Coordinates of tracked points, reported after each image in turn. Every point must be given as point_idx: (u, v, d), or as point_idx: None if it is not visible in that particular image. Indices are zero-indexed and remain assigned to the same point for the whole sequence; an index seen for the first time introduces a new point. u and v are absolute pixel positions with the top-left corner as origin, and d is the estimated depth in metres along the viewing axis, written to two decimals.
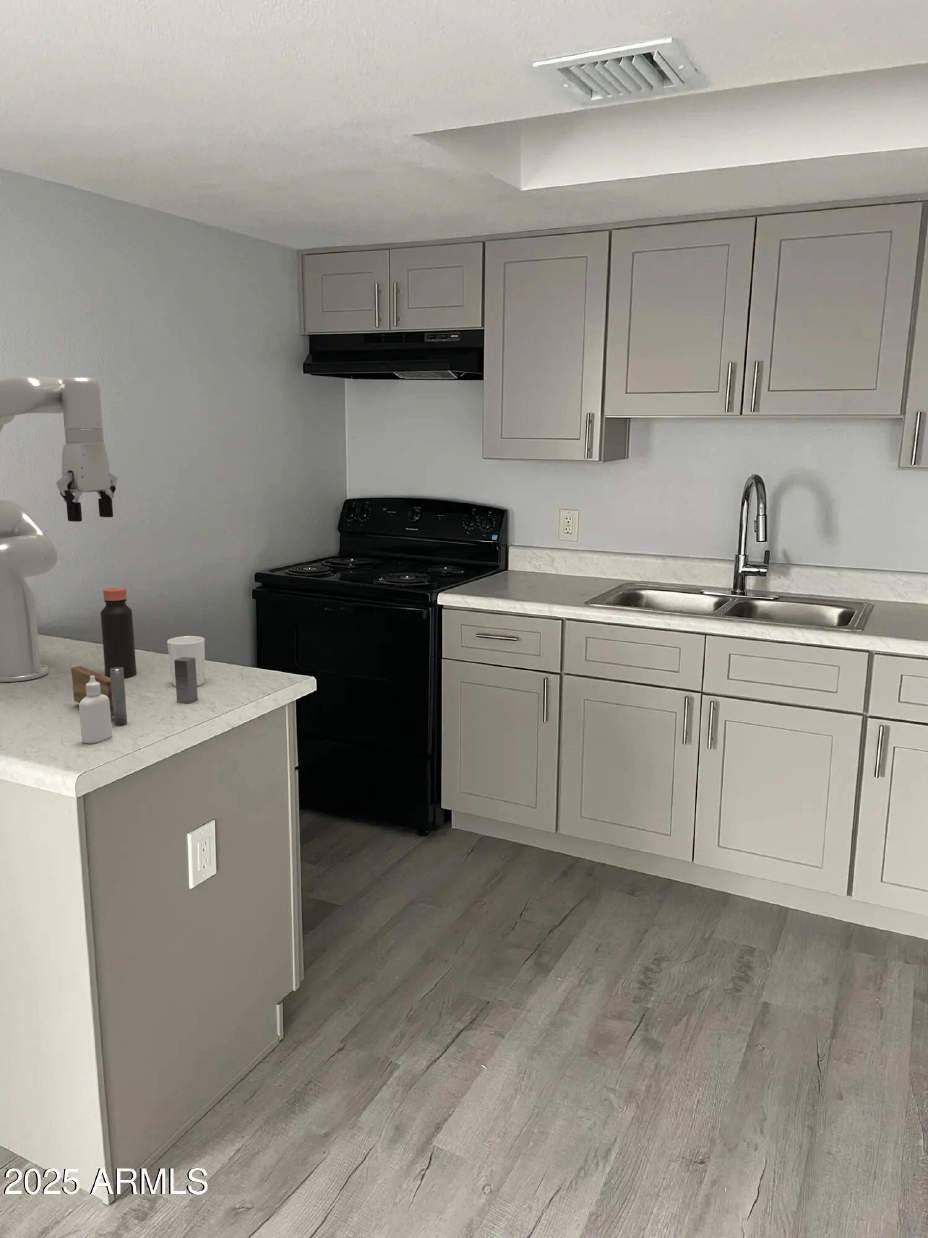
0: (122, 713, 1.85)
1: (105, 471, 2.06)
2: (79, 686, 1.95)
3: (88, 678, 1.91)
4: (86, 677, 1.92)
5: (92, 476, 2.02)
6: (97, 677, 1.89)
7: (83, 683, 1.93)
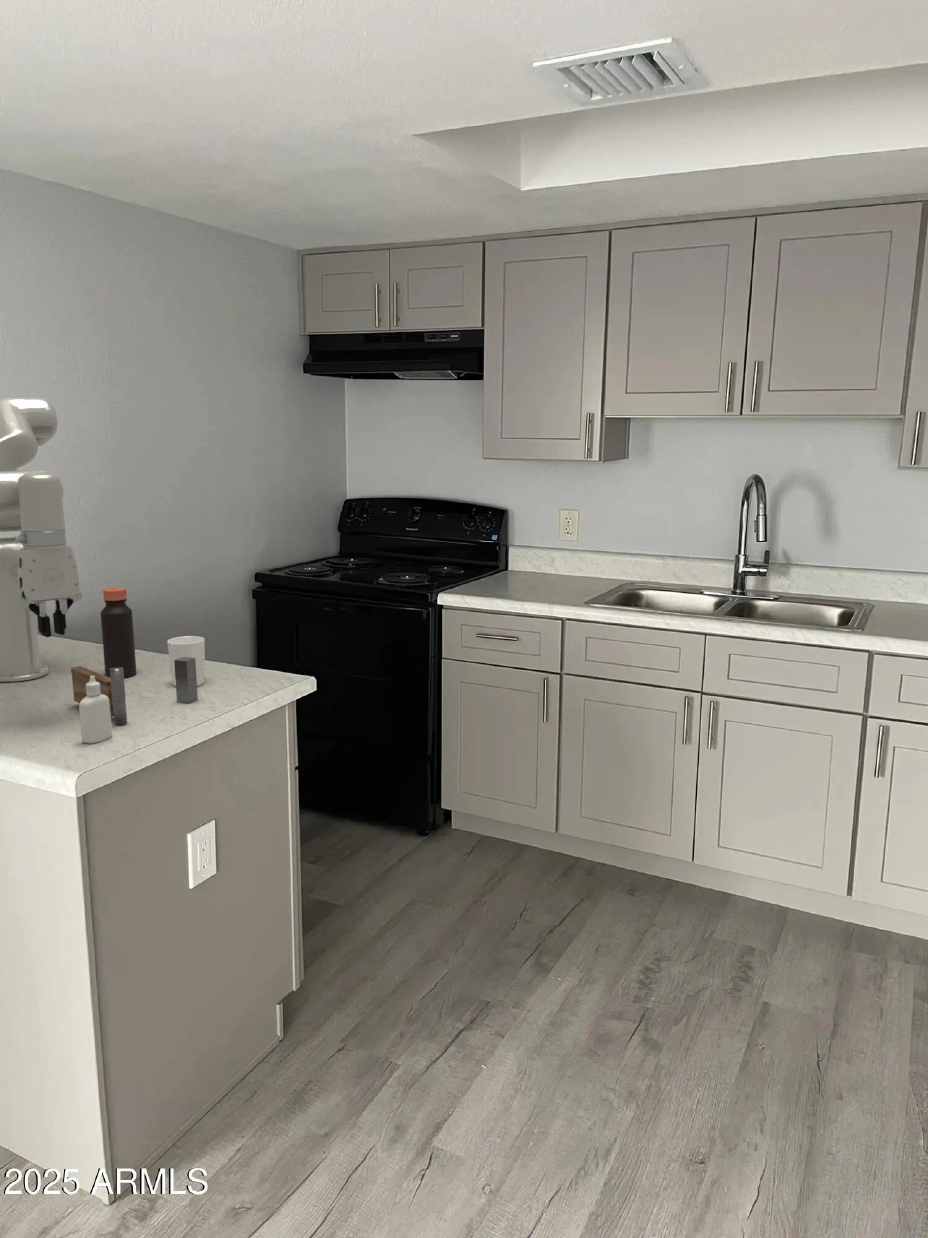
0: (122, 713, 1.85)
1: None
2: (79, 686, 1.95)
3: (88, 678, 1.91)
4: (86, 677, 1.92)
5: None
6: (97, 677, 1.89)
7: (83, 683, 1.93)
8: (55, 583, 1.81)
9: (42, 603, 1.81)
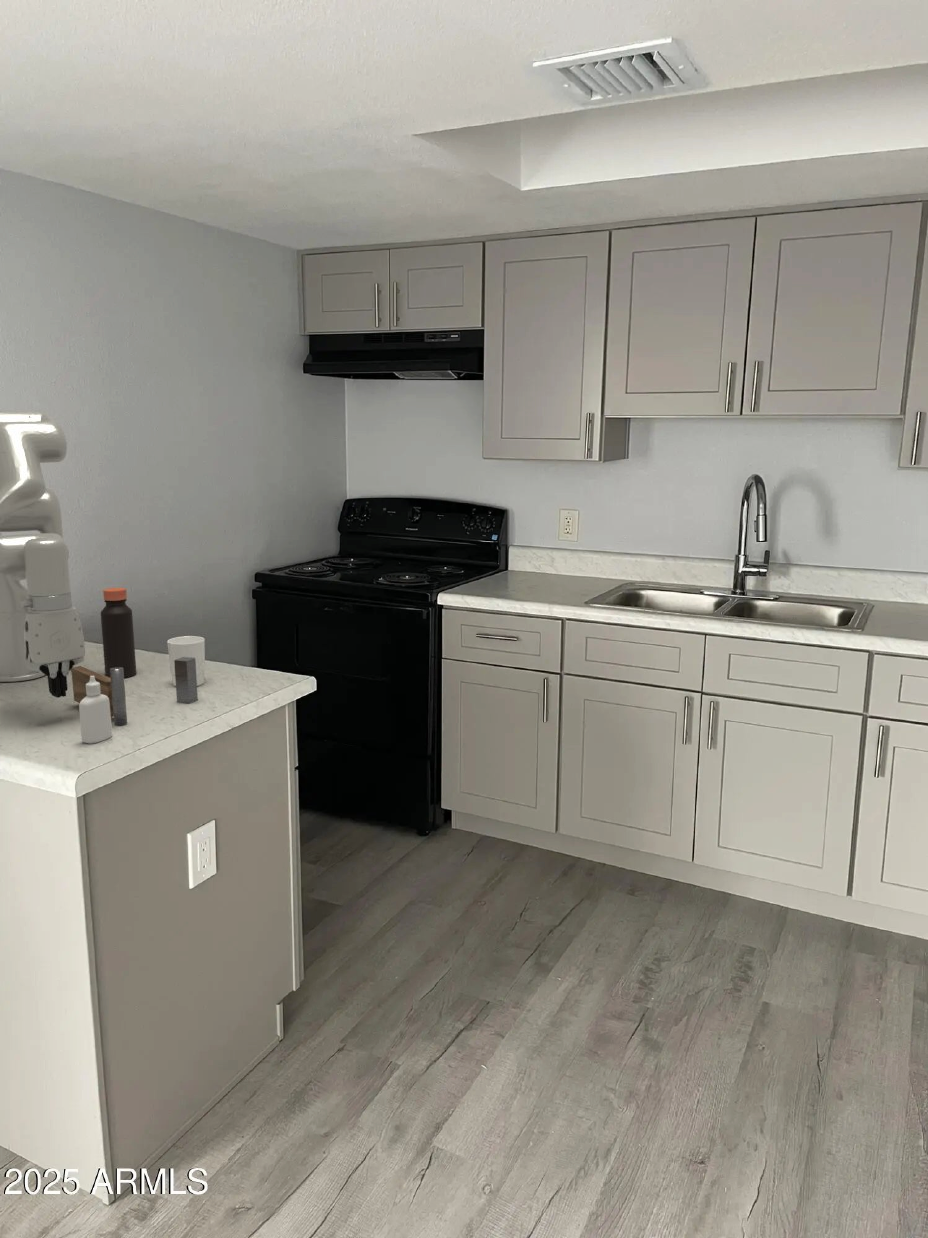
0: (122, 713, 1.85)
1: None
2: (79, 686, 1.95)
3: (88, 678, 1.91)
4: (86, 677, 1.92)
5: None
6: (97, 677, 1.89)
7: (83, 683, 1.93)
8: (61, 646, 1.83)
9: (50, 665, 1.84)
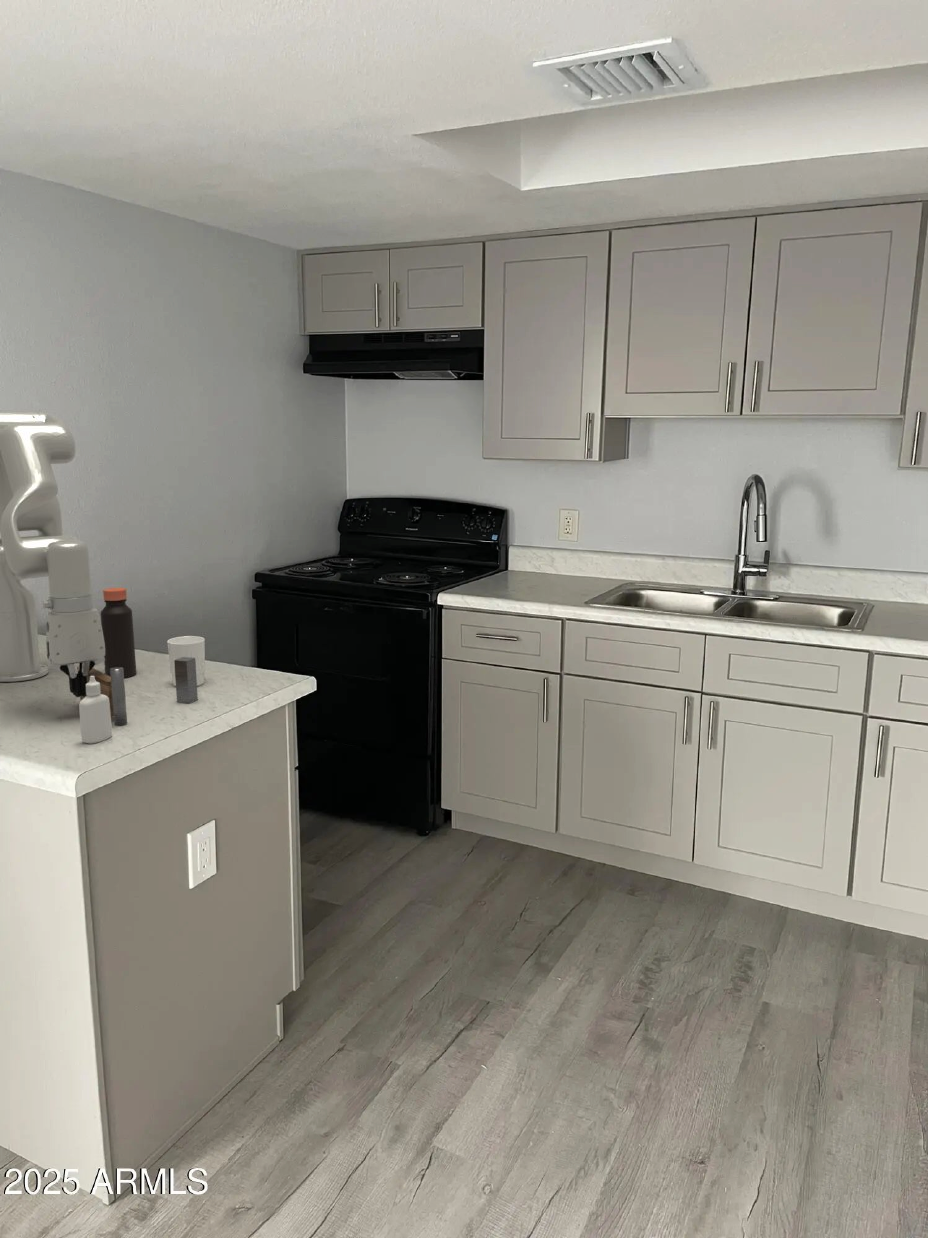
0: (122, 713, 1.85)
1: None
2: None
3: None
4: None
5: None
6: (99, 676, 1.89)
7: None
8: (80, 647, 1.87)
9: (70, 665, 1.88)
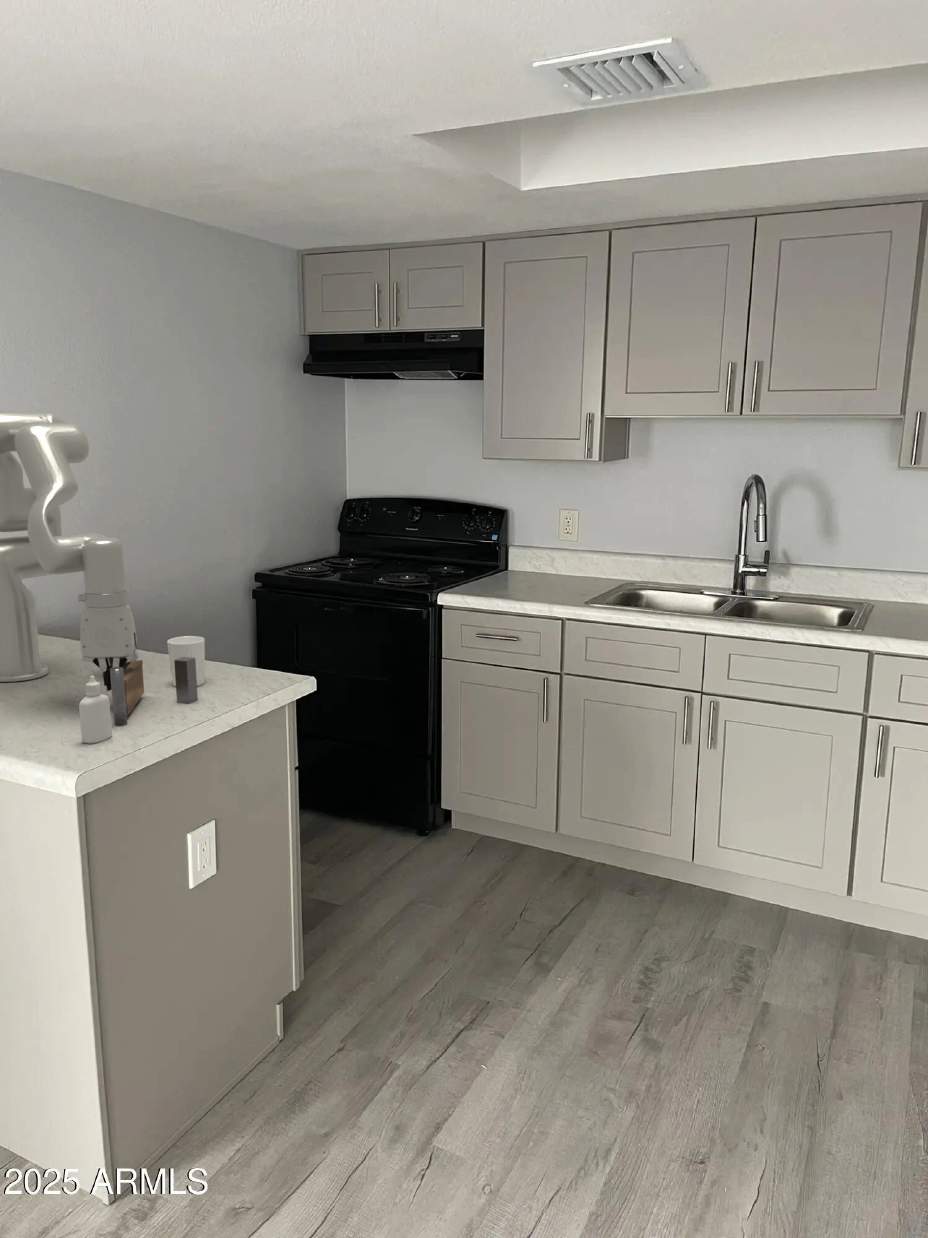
0: (122, 713, 1.85)
1: None
2: None
3: None
4: None
5: None
6: None
7: None
8: (106, 642, 1.91)
9: (101, 659, 1.92)
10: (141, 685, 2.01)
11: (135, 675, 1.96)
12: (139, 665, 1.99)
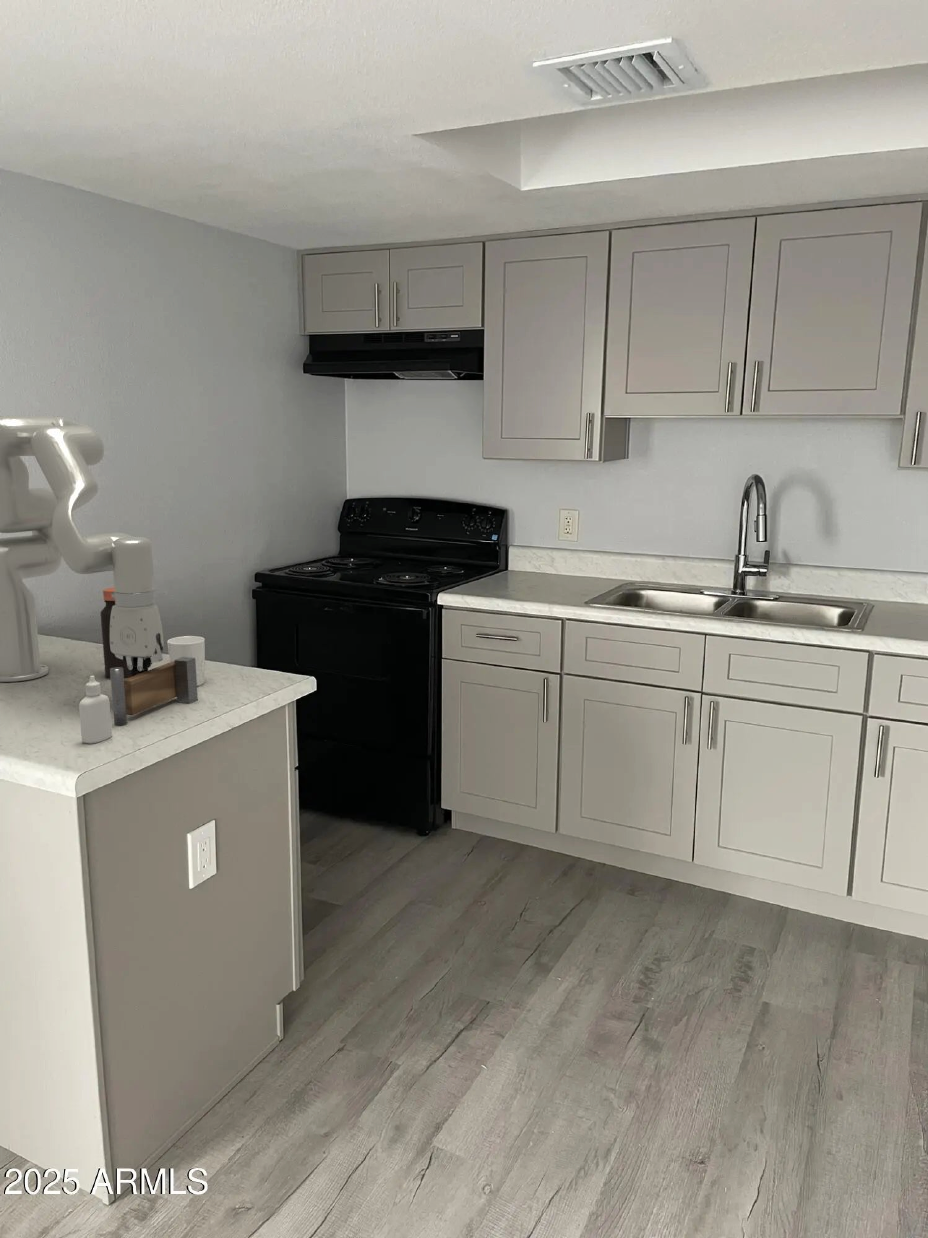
0: (122, 713, 1.85)
1: None
2: None
3: None
4: None
5: None
6: (140, 674, 1.91)
7: None
8: (129, 641, 1.92)
9: (128, 657, 1.94)
10: None
11: (160, 676, 1.95)
12: (172, 667, 1.98)
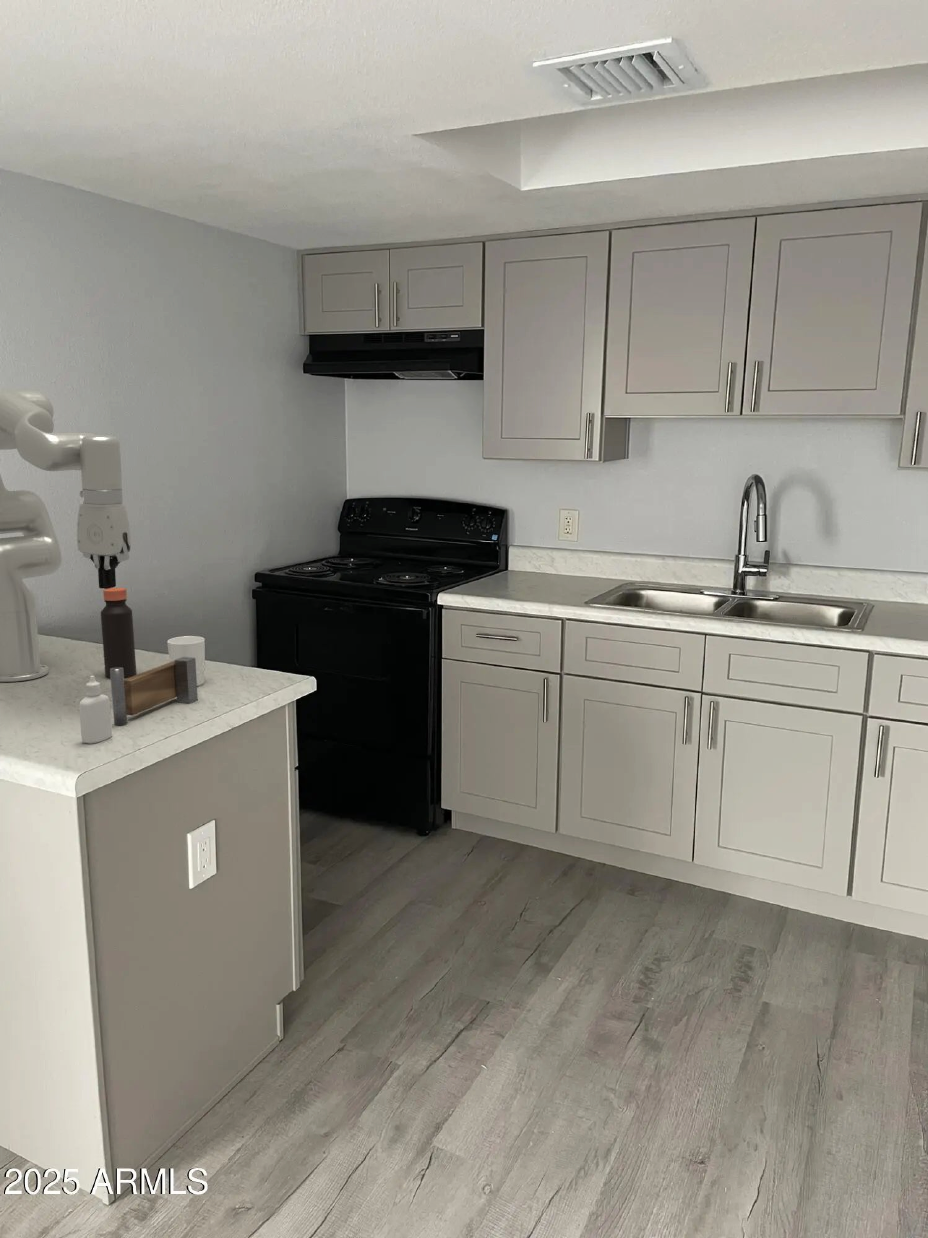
0: (122, 713, 1.85)
1: None
2: None
3: None
4: None
5: None
6: (140, 674, 1.91)
7: None
8: (96, 539, 1.93)
9: (95, 556, 1.95)
10: (175, 687, 2.00)
11: (160, 676, 1.95)
12: (171, 667, 1.98)
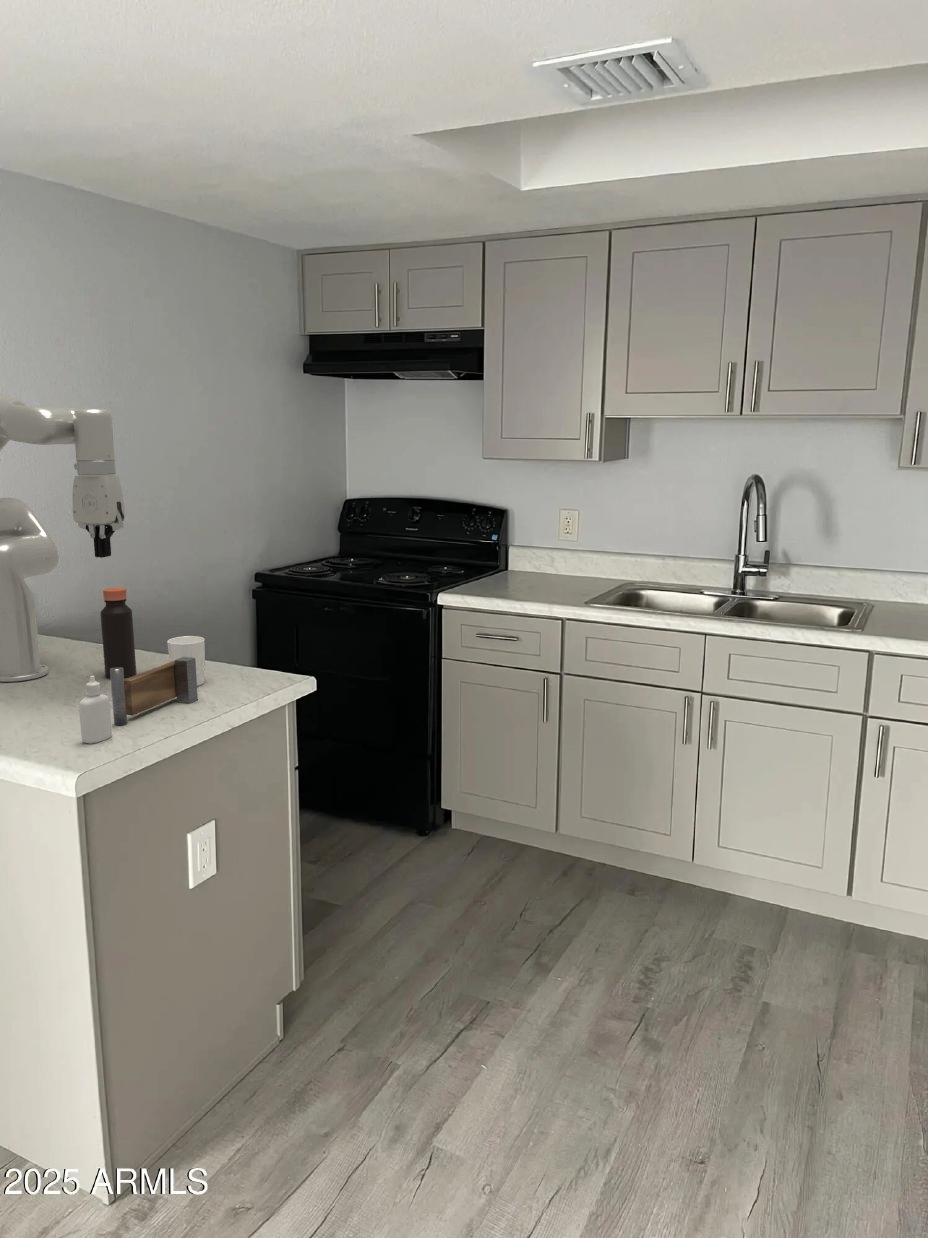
0: (122, 713, 1.85)
1: None
2: None
3: None
4: None
5: None
6: (140, 674, 1.91)
7: None
8: (91, 509, 2.00)
9: (90, 526, 2.02)
10: (175, 687, 2.00)
11: (160, 676, 1.95)
12: (171, 667, 1.98)
